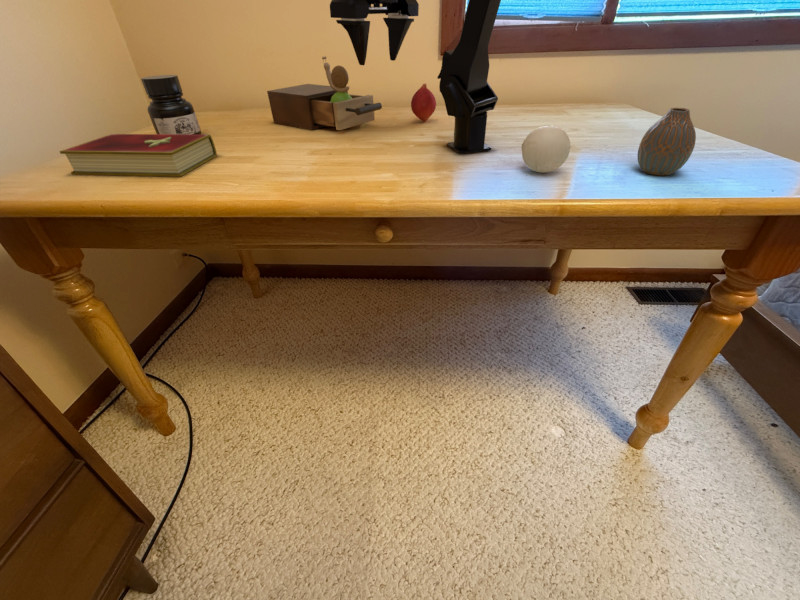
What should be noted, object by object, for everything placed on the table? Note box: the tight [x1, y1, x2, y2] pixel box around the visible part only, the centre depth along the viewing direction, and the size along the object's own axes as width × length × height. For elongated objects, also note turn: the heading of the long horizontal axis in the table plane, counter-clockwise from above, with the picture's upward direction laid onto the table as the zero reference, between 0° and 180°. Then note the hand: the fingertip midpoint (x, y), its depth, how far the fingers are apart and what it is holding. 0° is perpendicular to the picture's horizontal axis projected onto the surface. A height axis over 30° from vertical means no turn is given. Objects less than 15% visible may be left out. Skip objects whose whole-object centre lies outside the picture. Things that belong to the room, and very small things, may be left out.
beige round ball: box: [521, 125, 571, 174], centre depth 59 cm, size 7×7×7 cm
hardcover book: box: [59, 133, 218, 178], centre depth 69 cm, size 12×21×4 cm, turn 82°
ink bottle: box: [140, 74, 202, 135], centre depth 82 cm, size 10×9×12 cm
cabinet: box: [266, 83, 349, 131], centre depth 93 cm, size 15×13×7 cm
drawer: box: [310, 93, 383, 131], centre depth 87 cm, size 18×11×5 cm, turn 51°
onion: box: [410, 83, 437, 122], centre depth 89 cm, size 6×6×8 cm
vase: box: [637, 107, 697, 176], centre depth 56 cm, size 7×7×9 cm
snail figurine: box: [321, 55, 352, 103], centre depth 84 cm, size 5×6×12 cm
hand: (377, 62), depth 76 cm, fingers open, 9 cm apart
